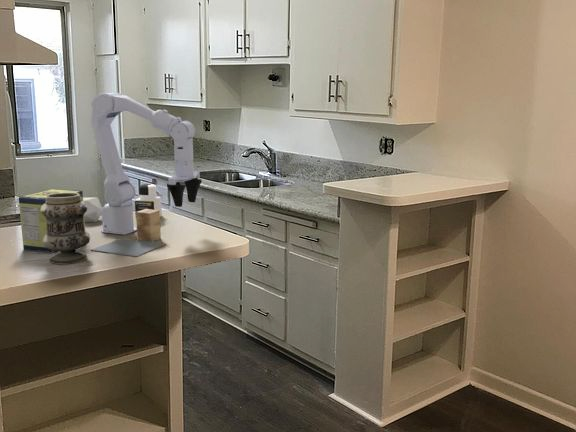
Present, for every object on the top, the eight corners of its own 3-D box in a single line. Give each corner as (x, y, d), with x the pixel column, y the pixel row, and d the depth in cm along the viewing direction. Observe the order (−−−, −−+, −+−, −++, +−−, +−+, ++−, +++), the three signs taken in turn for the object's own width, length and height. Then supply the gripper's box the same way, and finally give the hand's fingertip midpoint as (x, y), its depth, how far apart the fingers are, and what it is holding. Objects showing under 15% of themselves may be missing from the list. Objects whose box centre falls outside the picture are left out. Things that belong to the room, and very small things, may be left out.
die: (88, 226, 202) (104, 202, 203) (66, 213, 202) (82, 188, 204) (95, 229, 210) (111, 206, 212) (74, 216, 211) (90, 193, 212)
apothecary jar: (84, 250, 171) (79, 189, 167) (97, 260, 161) (92, 195, 157) (40, 257, 165) (34, 193, 161) (50, 268, 155) (44, 200, 151)
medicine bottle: (135, 219, 210) (133, 186, 207) (143, 215, 217) (141, 182, 214) (154, 220, 209) (153, 186, 206) (162, 216, 215) (160, 183, 213)
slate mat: (90, 250, 171) (90, 249, 171) (121, 239, 184) (121, 238, 184) (136, 257, 165) (136, 255, 165) (165, 244, 178) (165, 243, 178)
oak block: (137, 240, 182) (136, 212, 180) (147, 236, 187) (145, 208, 185) (151, 242, 180) (149, 213, 178) (160, 238, 185) (159, 210, 183)
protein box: (87, 240, 183) (83, 190, 179) (51, 253, 168) (47, 199, 165) (59, 237, 186) (54, 188, 183) (22, 250, 172) (17, 197, 168)
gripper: (181, 164, 175) (183, 209, 178) (207, 159, 188) (208, 201, 191) (161, 163, 178) (163, 207, 181) (188, 157, 191) (189, 199, 194)
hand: (185, 204), depth 186 cm, fingers open, 7 cm apart
